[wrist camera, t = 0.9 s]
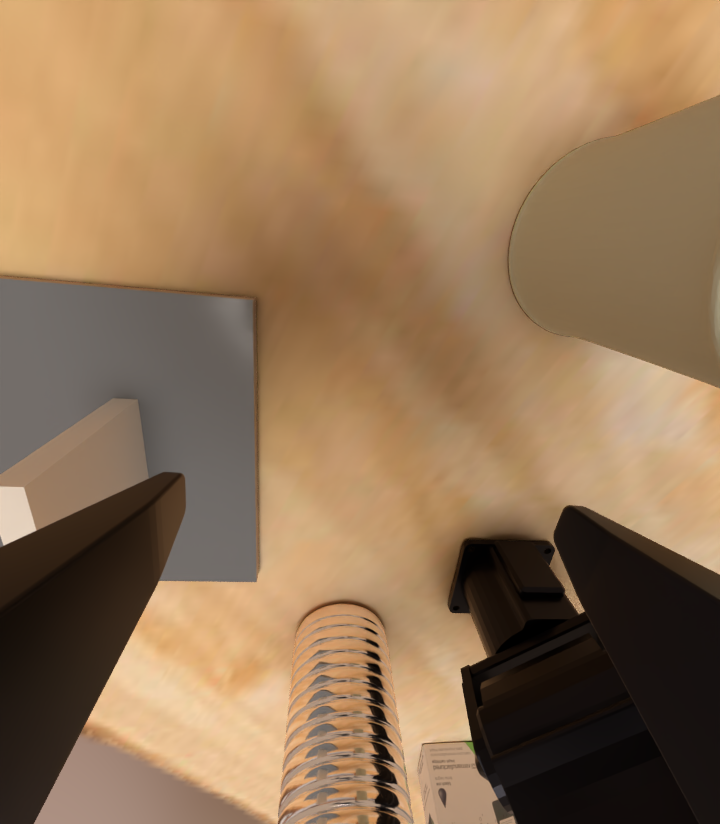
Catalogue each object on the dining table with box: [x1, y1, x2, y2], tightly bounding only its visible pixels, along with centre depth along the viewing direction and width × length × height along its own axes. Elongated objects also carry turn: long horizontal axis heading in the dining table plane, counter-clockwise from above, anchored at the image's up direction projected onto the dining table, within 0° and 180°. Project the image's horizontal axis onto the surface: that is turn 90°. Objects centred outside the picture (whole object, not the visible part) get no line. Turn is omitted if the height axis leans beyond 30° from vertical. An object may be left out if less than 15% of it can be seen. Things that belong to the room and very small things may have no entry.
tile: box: [0, 398, 149, 545], centre depth 17 cm, size 7×1×8 cm, turn 175°
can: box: [508, 95, 720, 388], centre depth 14 cm, size 9×9×12 cm
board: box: [0, 276, 259, 582], centre depth 21 cm, size 18×16×1 cm
